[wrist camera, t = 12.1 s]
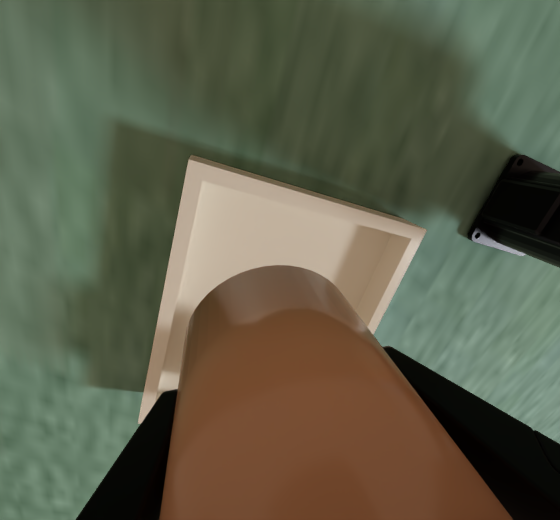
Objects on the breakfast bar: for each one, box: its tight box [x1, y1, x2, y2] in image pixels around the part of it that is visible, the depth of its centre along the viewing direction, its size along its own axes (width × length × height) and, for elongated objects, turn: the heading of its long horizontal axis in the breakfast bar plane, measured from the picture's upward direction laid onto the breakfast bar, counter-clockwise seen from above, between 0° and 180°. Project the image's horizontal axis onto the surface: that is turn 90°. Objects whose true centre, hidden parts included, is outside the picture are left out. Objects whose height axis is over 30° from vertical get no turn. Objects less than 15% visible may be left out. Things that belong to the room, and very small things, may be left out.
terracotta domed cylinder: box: [159, 265, 513, 520], centre depth 7 cm, size 5×5×6 cm
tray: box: [138, 155, 427, 424], centre depth 20 cm, size 15×18×2 cm
